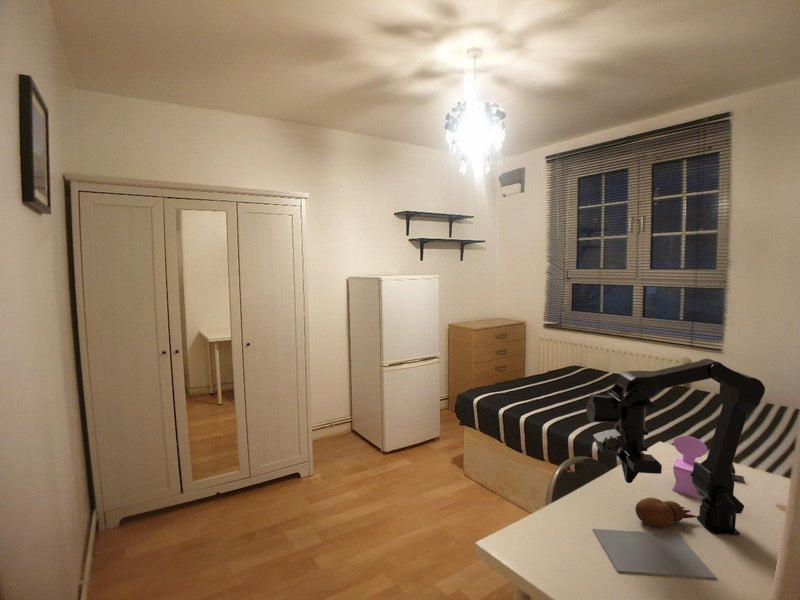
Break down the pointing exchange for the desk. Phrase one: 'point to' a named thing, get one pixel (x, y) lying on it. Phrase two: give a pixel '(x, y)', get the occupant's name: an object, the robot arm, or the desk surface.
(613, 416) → the robot arm
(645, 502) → the wooden figurine
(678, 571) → the mat
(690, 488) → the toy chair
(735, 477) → the build plate
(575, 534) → the desk surface
